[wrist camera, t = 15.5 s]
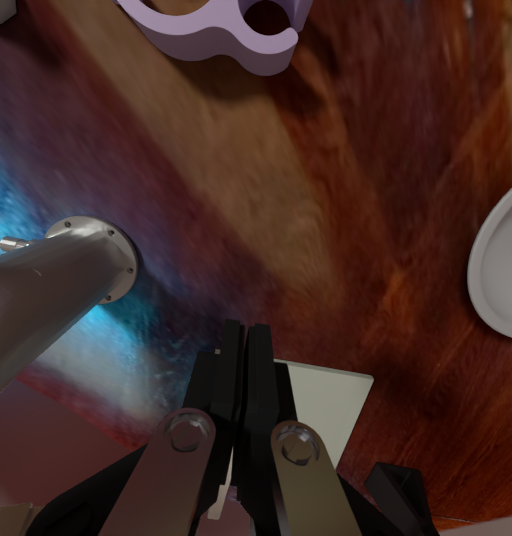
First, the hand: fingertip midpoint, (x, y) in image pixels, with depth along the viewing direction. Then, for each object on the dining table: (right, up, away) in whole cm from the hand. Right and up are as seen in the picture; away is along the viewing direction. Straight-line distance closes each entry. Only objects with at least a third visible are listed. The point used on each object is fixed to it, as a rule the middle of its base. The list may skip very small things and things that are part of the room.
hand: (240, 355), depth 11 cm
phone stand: (+27, -37, +45) cm, 64 cm away
